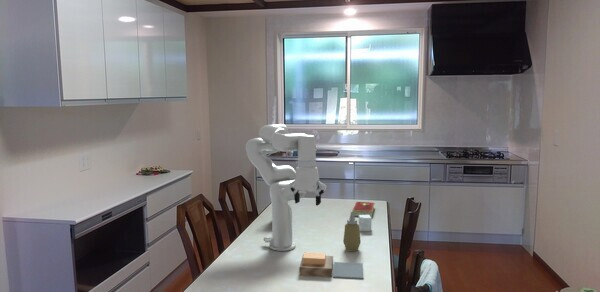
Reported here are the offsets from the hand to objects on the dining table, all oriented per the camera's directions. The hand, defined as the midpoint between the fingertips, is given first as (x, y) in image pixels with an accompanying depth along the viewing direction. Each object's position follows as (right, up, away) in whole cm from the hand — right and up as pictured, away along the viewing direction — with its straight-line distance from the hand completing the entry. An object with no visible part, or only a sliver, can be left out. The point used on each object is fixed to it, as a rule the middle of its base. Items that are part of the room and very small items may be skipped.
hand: (307, 203), depth 175 cm
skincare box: (+32, -21, +46) cm, 59 cm away
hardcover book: (+36, -17, +79) cm, 89 cm away
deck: (+4, -27, -5) cm, 27 cm away
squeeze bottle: (+21, -24, +17) cm, 36 cm away
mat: (+17, -27, -6) cm, 32 cm away
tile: (+3, -23, -5) cm, 24 cm away
